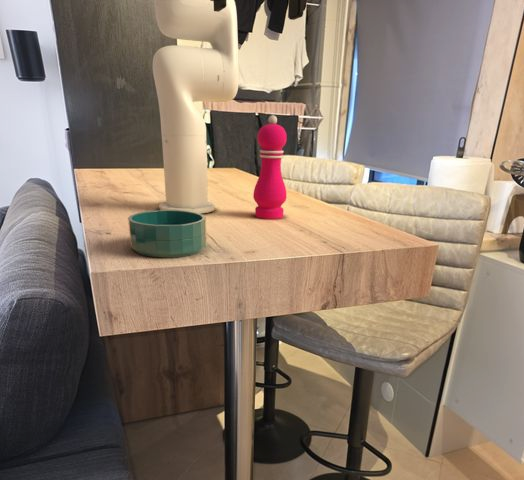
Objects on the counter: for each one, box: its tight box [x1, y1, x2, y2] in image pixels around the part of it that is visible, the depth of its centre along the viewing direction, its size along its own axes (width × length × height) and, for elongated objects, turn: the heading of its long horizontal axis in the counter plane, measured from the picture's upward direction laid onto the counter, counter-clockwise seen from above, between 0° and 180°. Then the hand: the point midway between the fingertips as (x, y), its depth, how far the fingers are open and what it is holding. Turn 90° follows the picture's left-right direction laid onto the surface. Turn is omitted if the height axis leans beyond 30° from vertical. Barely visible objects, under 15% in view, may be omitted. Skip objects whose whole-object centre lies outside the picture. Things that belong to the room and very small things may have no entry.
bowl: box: [127, 209, 208, 259], centre depth 74 cm, size 12×12×5 cm
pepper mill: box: [252, 114, 288, 220], centre depth 96 cm, size 7×7×20 cm
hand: (258, 13), depth 54 cm, fingers open, 9 cm apart
